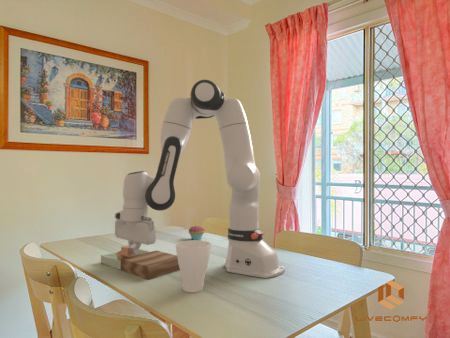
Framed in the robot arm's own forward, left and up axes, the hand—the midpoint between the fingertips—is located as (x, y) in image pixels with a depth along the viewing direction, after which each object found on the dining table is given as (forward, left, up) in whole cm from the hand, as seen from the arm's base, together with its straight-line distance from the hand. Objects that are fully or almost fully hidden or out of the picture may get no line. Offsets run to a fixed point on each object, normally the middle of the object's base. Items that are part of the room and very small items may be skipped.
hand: (134, 253), depth 116 cm
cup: (-32, +2, -5) cm, 32 cm away
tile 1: (+5, 0, -2) cm, 6 cm away
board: (-7, -3, -5) cm, 9 cm away
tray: (+8, -3, -5) cm, 10 cm away
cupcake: (+17, -51, -5) cm, 54 cm away
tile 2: (+4, 0, -1) cm, 4 cm away
